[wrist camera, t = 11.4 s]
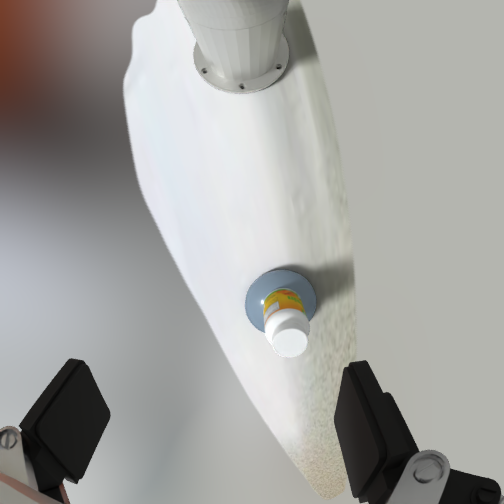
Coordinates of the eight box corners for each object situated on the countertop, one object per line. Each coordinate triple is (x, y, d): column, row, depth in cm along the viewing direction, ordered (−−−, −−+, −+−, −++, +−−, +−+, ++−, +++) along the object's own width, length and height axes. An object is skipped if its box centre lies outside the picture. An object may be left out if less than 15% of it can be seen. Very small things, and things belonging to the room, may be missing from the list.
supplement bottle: (309, 302, 39) (324, 340, 30) (282, 327, 40) (290, 369, 31) (281, 279, 38) (290, 313, 29) (254, 306, 39) (255, 345, 30)
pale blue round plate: (243, 269, 39) (243, 273, 38) (315, 266, 39) (317, 270, 38) (247, 331, 42) (247, 336, 40) (312, 328, 42) (314, 333, 40)
